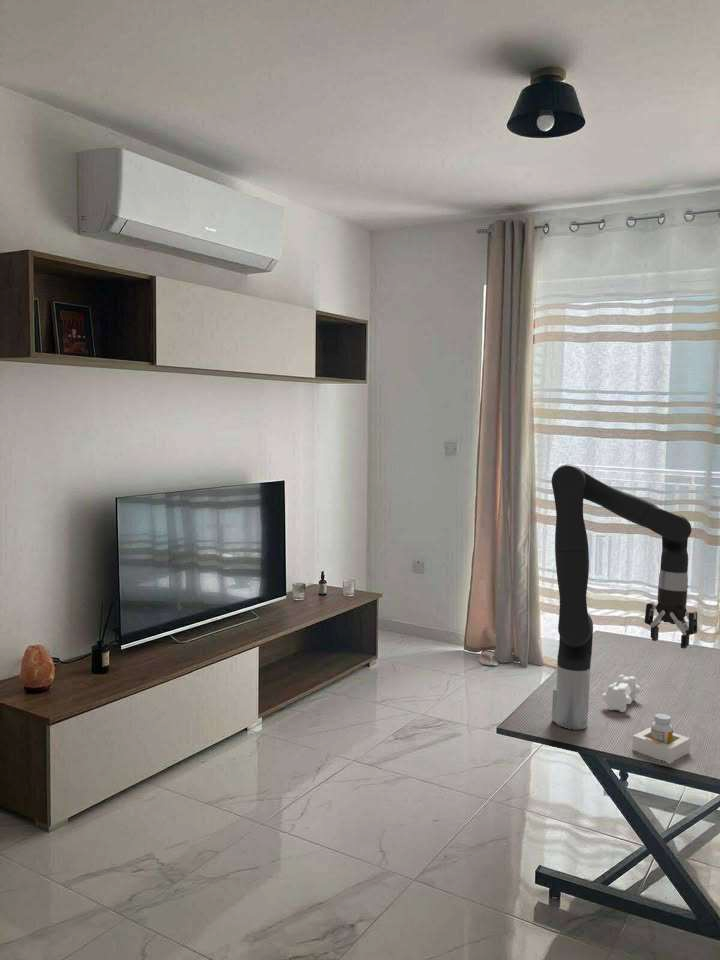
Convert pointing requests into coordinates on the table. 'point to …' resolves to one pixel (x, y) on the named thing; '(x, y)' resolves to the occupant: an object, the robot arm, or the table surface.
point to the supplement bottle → (662, 729)
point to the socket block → (661, 746)
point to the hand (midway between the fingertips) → (669, 644)
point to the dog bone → (621, 693)
